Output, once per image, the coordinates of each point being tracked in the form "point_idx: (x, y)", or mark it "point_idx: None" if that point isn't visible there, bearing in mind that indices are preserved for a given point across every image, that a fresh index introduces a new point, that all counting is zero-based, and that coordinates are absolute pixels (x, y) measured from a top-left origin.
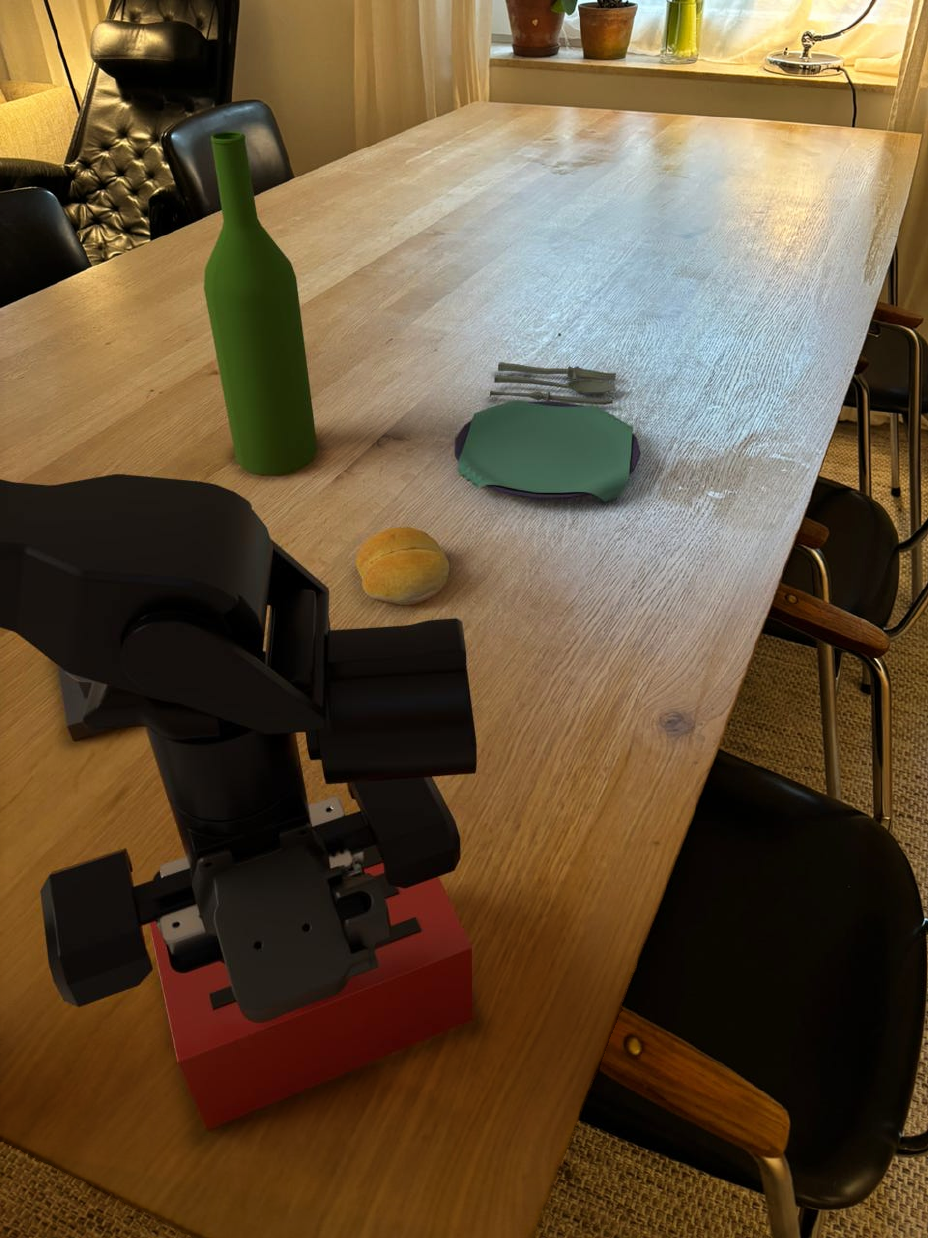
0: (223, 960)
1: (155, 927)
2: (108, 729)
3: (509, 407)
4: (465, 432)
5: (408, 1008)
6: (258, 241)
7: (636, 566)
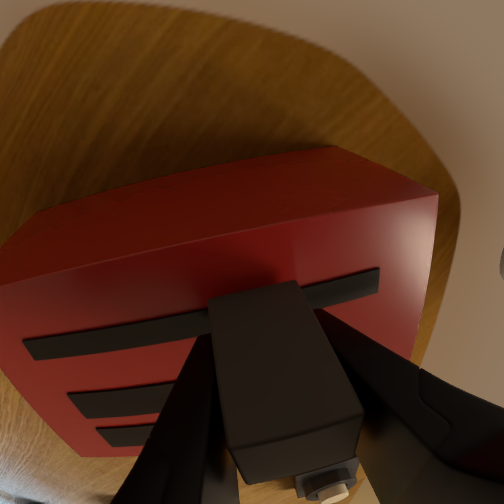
0: (454, 394)
1: None
2: None
3: None
4: None
5: (69, 226)
6: None
7: (7, 478)
